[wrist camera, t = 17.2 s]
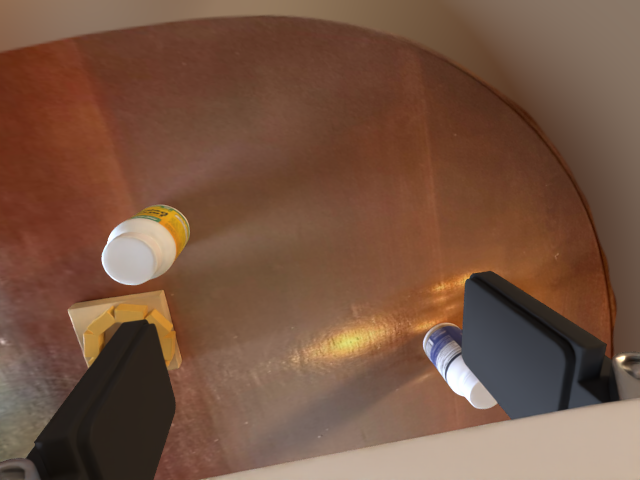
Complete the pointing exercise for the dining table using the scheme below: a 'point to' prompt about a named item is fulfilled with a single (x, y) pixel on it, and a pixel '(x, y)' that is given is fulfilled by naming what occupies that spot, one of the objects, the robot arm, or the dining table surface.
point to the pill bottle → (455, 364)
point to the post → (91, 310)
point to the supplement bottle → (145, 245)
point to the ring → (126, 313)
